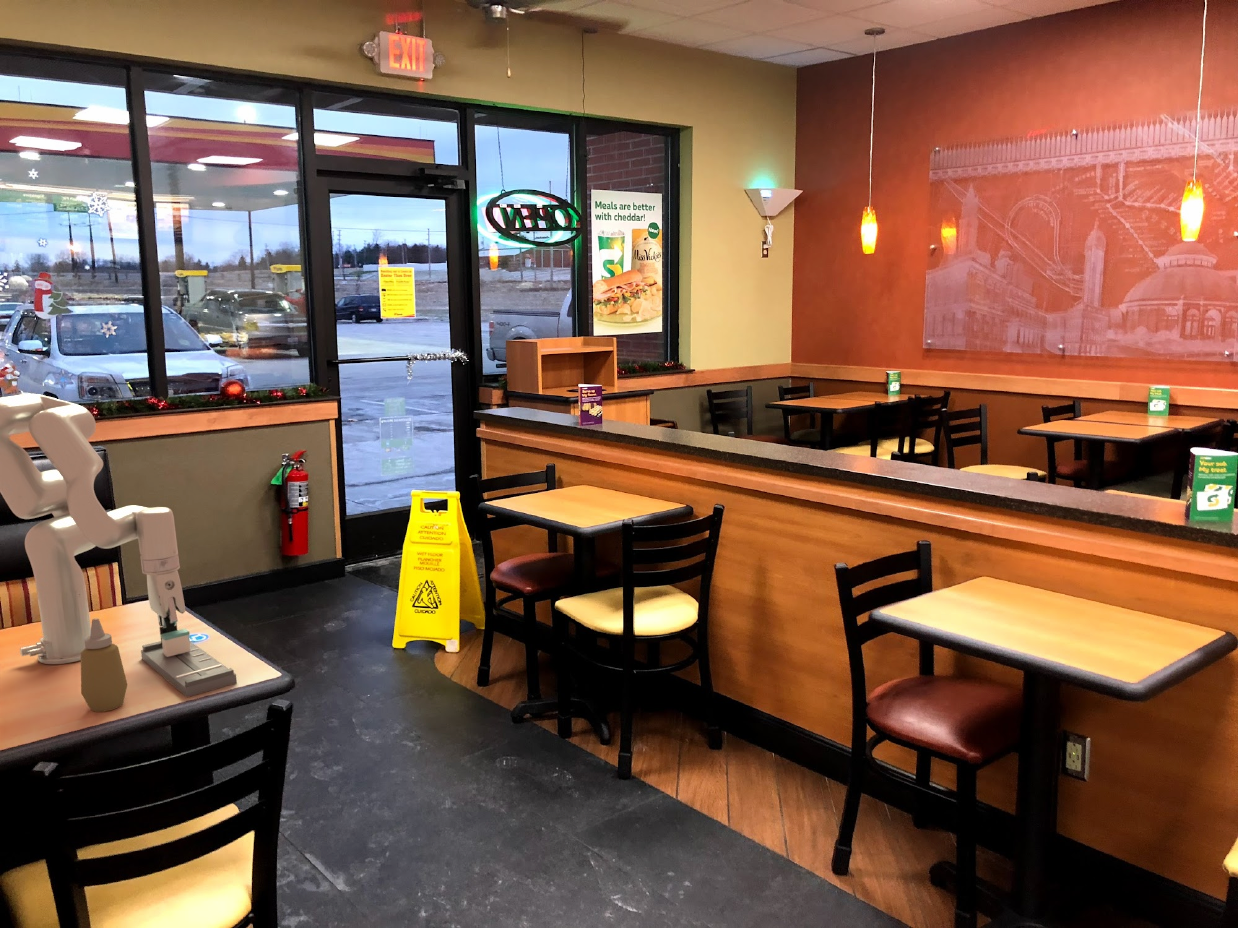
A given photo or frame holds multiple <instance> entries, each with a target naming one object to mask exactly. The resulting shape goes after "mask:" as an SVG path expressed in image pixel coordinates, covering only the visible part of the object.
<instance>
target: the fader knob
mask: <svg viewBox="0 0 1238 928" xmlns="http://www.w3.org/2000/svg"><path fill="white" fill-rule="evenodd" d="M159 635H161V636H160V639H161V638H162V646H163V654H164V655H165V656H166V657H169V656H173V655H177V654H181V653H185V652H188V651H191V648H190V641H191V639H190V631H189V630H188V629H187V628H183V629H177V631H173V632H169V633H164V634H160V633H159Z"/></svg>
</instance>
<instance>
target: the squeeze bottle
mask: <svg viewBox="0 0 1238 928" xmlns="http://www.w3.org/2000/svg"><path fill="white" fill-rule="evenodd" d="M84 641H85V647H86V648H85V649H84V650H83V651H82V652H81V660H80V682H81V683H80V691H81V692H80V693H81V696H82V697H83V699H84V700H85V703H86V704H87V706H88V709H89V710H90V711H91V712H94V713H96V712H97V713H102V712H108V711H112V710H115V709H117V708H120V707H121V706H122V705H123V703H124V701H125V697H126V692H127V689H128V681H127V677H126V674H125V670H124V669H125V668H124V665H123V662H122V661H123V660H122V658H121V653H120V649H119V647H118V645H117V644H115V643H113V639H112V634H110V633H105V631H104V627H103V626H102V624H101V621H100V619H99V618H92V620H91V634H90V636H89V637H87V638H86V639H85V640H84Z"/></svg>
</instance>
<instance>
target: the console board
mask: <svg viewBox="0 0 1238 928" xmlns="http://www.w3.org/2000/svg"><path fill="white" fill-rule="evenodd" d="M190 648H191V651H188V652H185V653H181V654H177V655H173V656H169V657H166V656H165V655H164V654H163V646H162V643H161V640H159V641H155V642H151V643H148V644H143V645H142V650H140V654H141V656H140V657H141V660H143V661H144V662H145V663H146V664H147V665H149V666H150V668H152V669H153V670H154V671H156V672H157V673H158V674H159V675H160V676H161V677H163V678H164V679H165V680H166V681H167V682H168V683H169V684H171V685H172V686H173V687H174V688H176V689H177V690H178V691H179V692H180V693H181V694H182V695H184V697H186V698H190V697H192V696H196V695H199V694H200V695H201V694H203V693H207V692H210V691H214V690H218V689H222V688H224V687H228V686H232V685H235V684H237V683H238V682H237V674H236V673H235V672H234V669H233V668H231V667H230V668H228V667H227V666H226V665H224V664H223V663H222V662H220V661H218V660H217V659H216V658H214V657H213V656H211V655H210V654H209V653H207V651H205V650H203V649H202V648H200V647H199V646H198V645H197V644H195V643H194V642H192V641H191V640H190ZM231 684H232V685H231Z"/></svg>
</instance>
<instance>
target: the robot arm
mask: <svg viewBox="0 0 1238 928" xmlns="http://www.w3.org/2000/svg"><path fill="white" fill-rule="evenodd" d="M96 427H97V423H96V420H95V417H94V416H93V414H92V413H91V412H90V410H88V409H87V408H86V407H84V406H82V405H79V404H77V403H74V402H71V401H70V402H69V401H66V400H61V399H57V398H55V397H51V396H46V395H43V394H38V393H37V394H36V393H23V394H22V393H21V394H17V395H10V396H8V395H7V396H1V397H0V494H1V495H2V498H3V499H4V501H5V503H6V504H7V506H8V508H9V509H10V510H11V512H12V513H13V514H14V515H15V516H16V517H18V518H19V519H24V520H30V519H35V518H39V517H43V516H46V515H50V514H52V515H53V517H52V518H49V519H45V520H43V521H40V522H38V523H37V524H35V525H34V526H32V527H31V528H30V529H29V531H28V532H27V533H26V535H25V539H24V548H25V552H26V554H27V557H28V560H29V562H30V565H31V568H32V572H33V576H34V581H35V589H36V595H37V601H38V602H37V603H38V607H39V614H40V615H39V616H40V623H41V629H42V631H41V632H42V636H43V637H40V638H39V640H40V641H39V642H35V644H33V645H27V646H23V647H20V648H19V649H20V651H19V652H20V655H21V657H24V656H29V657H34V656H37V659H38V662H39V663H41V664H46V665H63V664H69V663H75V662H79V661H80V662H81V652H82V651H83V650H84V649H85V648H86V647H85V641H84V640H85V639H86V638H87V637H89V636H90V634H91V625H92V623H91V617H90V610H89V602H88V594H87V589H86V588H87V587H86V581H85V575H84V573H83V570H82V568H81V566H80V565H79V564H78V562H77V561H76V558H75V556H77V555H79V554H82V553H84V552H87V551H89V550H92V549H93V548H96V547H98V548H100V549H112V548H115V547H118V546H121V545H123V544H126V543H128V542H131V541H132V542H133V541H135V540H138V541H137V542H138V549H139V556H140V563H141V564H140V565H141V572H142V574H143V575H146V584H147V585H146V586H147V587H146V588H147V595H148V602H149V607H150V609H151V611H153V612H154V613H155V614H156V615H157V620H158V625H159V635H160V634H164V633H169V632H173V631H177V630H178V625H177V624H178V622H179V621H178V615H177V612H178V613H180V614H185V612H186V606H185V600H184V599H185V598H184V594H183V587H182V583H181V579H180V574H179V571H178V570H179V569H180V568H181V566H180V559H179V551H178V550H179V549H178V541H177V532H176V526H175V517H174V513H173V510H172V509H171V508H169V507H166V506H156V507H155V506H154V507H146V506H141V505H134V504H133V505H132V504H131V505H125V506H123V507H119V508H116V509H113V510H110V511H106V509H105V508H104V507H103V506H102V504H101V503H100V501H99V500H98V498H97V496H96V493H95V490H94V489H95V488H94V486H95V485H94V484H95V480H96V477H97V475H98V474H99V473H100V472H101V471H102V469H103V467H104V461H103V459H102V458H101V456H100V455H99V453H97V451H96V449H94V447H93V446H92V445H91V443H90V442H89V439H91V438H92V437H93V436H94V434H95V433H96V429H97V428H96ZM24 433H29V434H30V435H31V438H32V439H33V440H34V442H35V443H36V444H37V446H38V447H39V449H40V450H41V451H42V452H43V454H44V455H45V457H46V458H47V460H49V462H50V463H51V464H52V466H53V468H55V469H49V470H44V471H40V470H39V469H38V468H37V466H36V465H35V463H34V462H33V460H32V457H31V456H30V455H29V453H28V451H26V450H25V449H24V448H23V447H22V446H21V445H19V444H18V443H17V442H14V441H13V440H12V439H11V436H13V435H19V434H24ZM160 641H161V643H162V638H161V635H160Z"/></svg>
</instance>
